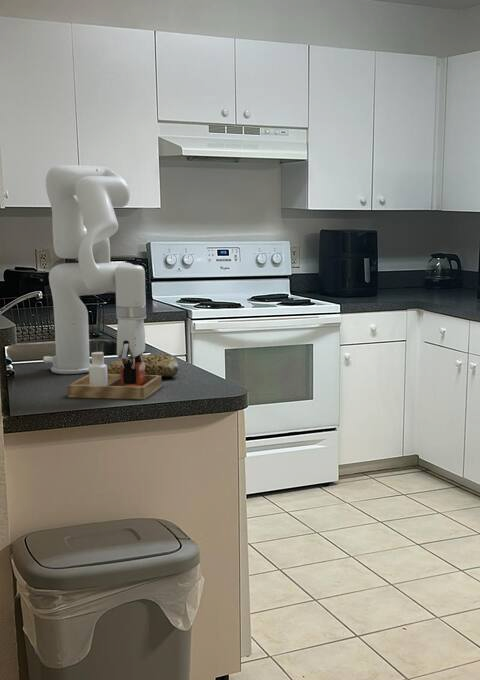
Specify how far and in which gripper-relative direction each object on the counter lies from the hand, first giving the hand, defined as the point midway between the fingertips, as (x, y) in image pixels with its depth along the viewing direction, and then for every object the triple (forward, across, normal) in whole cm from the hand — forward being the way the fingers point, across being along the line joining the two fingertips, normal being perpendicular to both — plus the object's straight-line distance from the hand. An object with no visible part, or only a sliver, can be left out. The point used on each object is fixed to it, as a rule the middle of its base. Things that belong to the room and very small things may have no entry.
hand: (133, 380), depth 237 cm
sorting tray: (+3, 0, -5) cm, 6 cm away
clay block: (0, 0, 0) cm, 0 cm away
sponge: (+3, -17, -3) cm, 18 cm away
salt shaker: (+3, 0, -9) cm, 10 cm away
